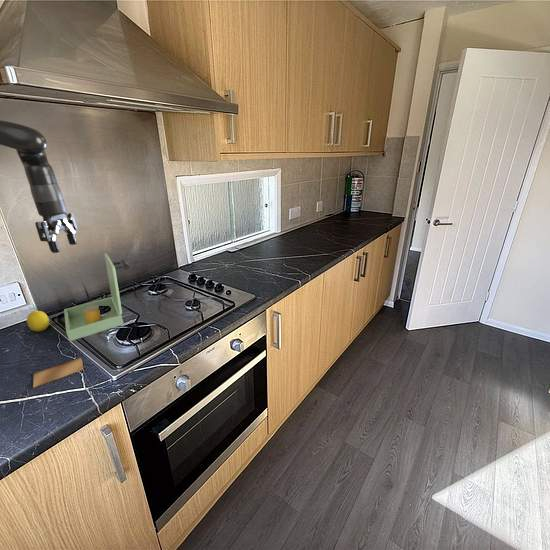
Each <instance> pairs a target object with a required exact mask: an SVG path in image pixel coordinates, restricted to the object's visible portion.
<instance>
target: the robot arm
mask: <svg viewBox="0 0 550 550" xmlns="http://www.w3.org/2000/svg"><path fill="white" fill-rule="evenodd" d="M47 143H48V142H47V139H46V137H45V136H44V134H43V133H42V132H40V131H39V130H37V129H36V128H33V127H31V126H27V125H25V124H24V125H23V124H20V123H15V122H13V121H7V120H4V119H0V146H3V147H7V148H10V149H13V150H15V151H16V153H17V155H18V158H19V160H20V161H21V164H22V166H23V169H24V173H25V176H26V179H27V182H28V185H29V189H30V194H31V197H32V200H33V202H34V204H35V209H36V211H37V213H38V215H39V216H41V217H42V221H36V222H35V223H34V225H35V228H36V231H37V235H38V238H39V241H41V242H46V243H47V244H48V247H49V250H50V252H51V253H52V254H57V253H60V251H61V250H60V248H59V245H58V244H59V243H58V241H57V240H56V239H57V236H58V235H59V232H61V231H63V232H64V233H66V237H67V238H66V239H67V241H68V244H69V245H71V246H74V245H77V244H78V242H77V238H76V235H75V234H76V231H78V230H79V226H78V224H77V223H76V219H75V216H74V213H72V212H70V213H68V208H67V206H66V203H65V199H64V196H63V192H62V189H61V187H60V185H59V183H58V180H57V177H56V174H55V171H54V168H53V167H52V165H51V164H50V162H49V160H48V157H47V153H46V149H47V146H48V144H47Z"/></svg>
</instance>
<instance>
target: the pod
mask: <svg viewBox="0 0 550 550" xmlns="http://www.w3.org/2000/svg"><path fill="white" fill-rule="evenodd" d="M83 312H84V315H85V318H86V321H87V324H90V323H94V322H97V321H101V320H102V317H101V314H100V310H99V307H98V306H96V305H93V306H89V307H86V308H85V309H83Z"/></svg>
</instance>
